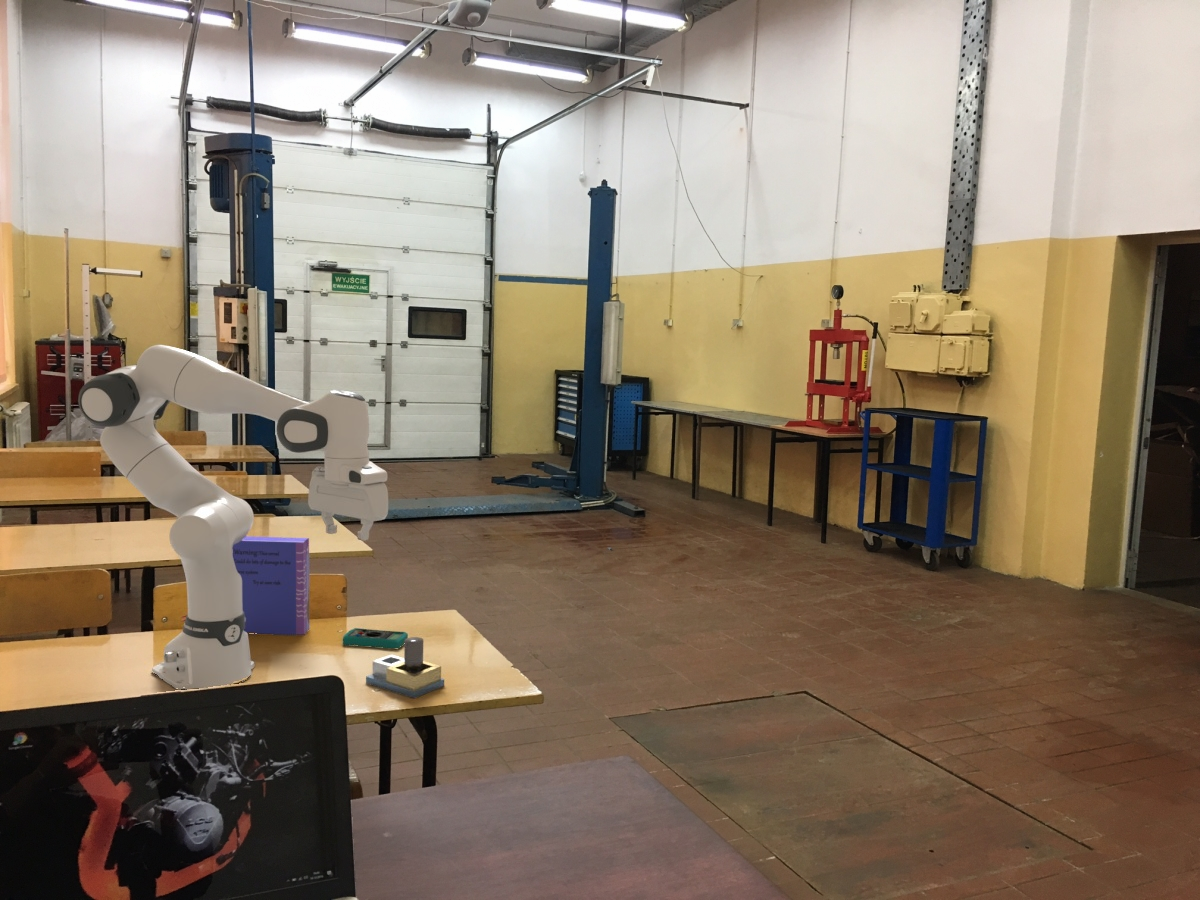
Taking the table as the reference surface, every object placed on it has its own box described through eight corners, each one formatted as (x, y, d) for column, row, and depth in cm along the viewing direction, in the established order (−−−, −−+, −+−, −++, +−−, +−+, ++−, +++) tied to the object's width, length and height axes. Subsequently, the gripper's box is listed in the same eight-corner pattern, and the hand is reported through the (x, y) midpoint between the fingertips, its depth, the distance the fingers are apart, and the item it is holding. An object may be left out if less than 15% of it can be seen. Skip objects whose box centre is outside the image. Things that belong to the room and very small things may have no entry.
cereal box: (309, 629, 244) (309, 537, 241) (304, 635, 239) (303, 541, 236) (240, 627, 243) (239, 535, 240) (233, 633, 239) (232, 539, 236)
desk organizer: (366, 683, 208) (366, 663, 208) (396, 671, 216) (396, 652, 216) (414, 698, 201) (414, 677, 200) (444, 685, 208) (444, 665, 208)
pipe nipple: (400, 680, 206) (400, 640, 205) (413, 675, 210) (413, 636, 209) (413, 685, 204) (414, 644, 203) (426, 679, 208) (427, 639, 206)
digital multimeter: (352, 637, 240) (352, 626, 240) (409, 642, 238) (409, 630, 238) (340, 646, 233) (340, 635, 232) (398, 651, 231) (398, 639, 230)
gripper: (300, 466, 198) (301, 531, 200) (370, 477, 187) (370, 546, 189) (324, 463, 204) (324, 527, 205) (393, 473, 192) (393, 541, 194)
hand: (347, 536), depth 197 cm, fingers open, 8 cm apart
